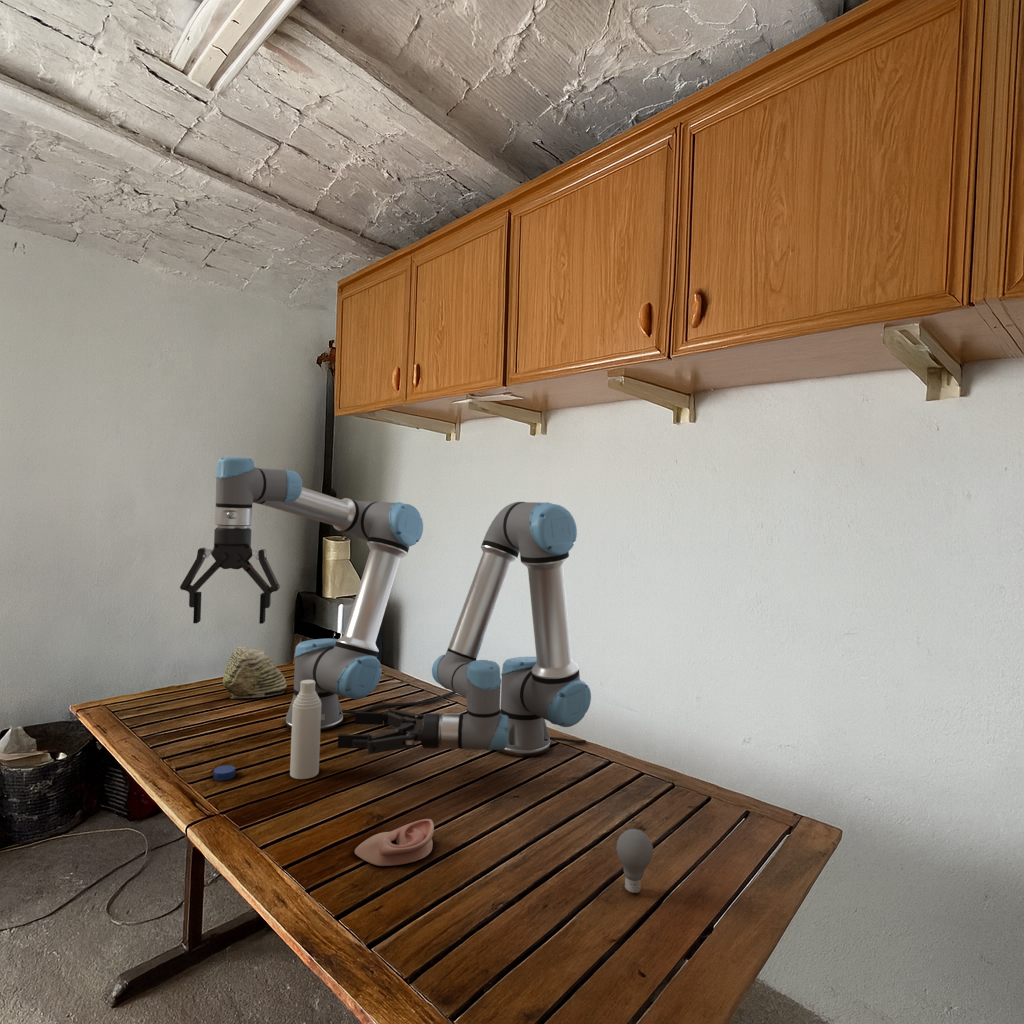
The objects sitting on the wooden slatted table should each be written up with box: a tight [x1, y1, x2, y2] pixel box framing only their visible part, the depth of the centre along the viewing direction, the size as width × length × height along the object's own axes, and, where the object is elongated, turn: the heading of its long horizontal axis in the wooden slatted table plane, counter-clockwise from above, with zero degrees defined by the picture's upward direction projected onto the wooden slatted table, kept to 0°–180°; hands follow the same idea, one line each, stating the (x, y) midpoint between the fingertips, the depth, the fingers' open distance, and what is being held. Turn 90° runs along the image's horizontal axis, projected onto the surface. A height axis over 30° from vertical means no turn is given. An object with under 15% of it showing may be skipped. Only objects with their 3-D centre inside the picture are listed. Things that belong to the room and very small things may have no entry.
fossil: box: [222, 646, 288, 699], centre depth 198 cm, size 9×18×15 cm, turn 132°
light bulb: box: [615, 828, 654, 894], centre depth 106 cm, size 6×6×10 cm
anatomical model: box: [354, 818, 435, 867], centre depth 115 cm, size 13×4×12 cm
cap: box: [212, 764, 236, 782], centre depth 141 cm, size 4×4×2 cm
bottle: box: [289, 680, 321, 780], centre depth 144 cm, size 6×6×21 cm
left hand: (229, 622), depth 141 cm, fingers open, 13 cm apart
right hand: (347, 728), depth 144 cm, fingers open, 13 cm apart
